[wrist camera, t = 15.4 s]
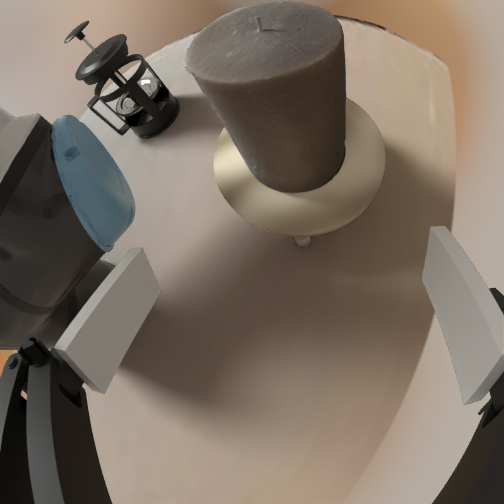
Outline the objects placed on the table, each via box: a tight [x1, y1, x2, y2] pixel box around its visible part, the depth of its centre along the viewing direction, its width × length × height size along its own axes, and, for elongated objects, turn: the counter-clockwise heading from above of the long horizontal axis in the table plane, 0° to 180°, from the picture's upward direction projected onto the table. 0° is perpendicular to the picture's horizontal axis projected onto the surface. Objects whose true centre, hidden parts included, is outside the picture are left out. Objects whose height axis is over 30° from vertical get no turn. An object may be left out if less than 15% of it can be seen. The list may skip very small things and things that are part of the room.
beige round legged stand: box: [214, 98, 386, 247], centre depth 29 cm, size 17×17×8 cm
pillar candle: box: [185, 1, 346, 193], centre depth 18 cm, size 10×10×15 cm
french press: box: [64, 21, 180, 138], centre depth 31 cm, size 12×9×23 cm
